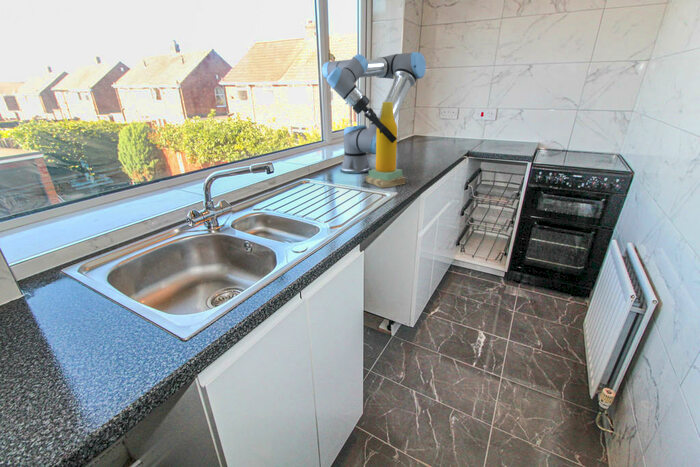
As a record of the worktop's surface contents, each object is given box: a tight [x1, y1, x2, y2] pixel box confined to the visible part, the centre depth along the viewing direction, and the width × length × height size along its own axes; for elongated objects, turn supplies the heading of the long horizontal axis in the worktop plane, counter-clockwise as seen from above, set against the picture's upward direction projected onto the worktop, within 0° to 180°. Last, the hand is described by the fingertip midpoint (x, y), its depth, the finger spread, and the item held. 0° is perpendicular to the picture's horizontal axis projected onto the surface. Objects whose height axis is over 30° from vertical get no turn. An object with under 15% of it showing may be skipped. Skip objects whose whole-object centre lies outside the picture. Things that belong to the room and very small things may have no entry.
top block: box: [368, 168, 403, 181], centre depth 151 cm, size 11×11×3 cm
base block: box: [365, 174, 406, 189], centre depth 153 cm, size 13×13×3 cm
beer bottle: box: [375, 101, 398, 172], centre depth 145 cm, size 9×9×29 cm
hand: (393, 139), depth 145 cm, fingers open, 10 cm apart
